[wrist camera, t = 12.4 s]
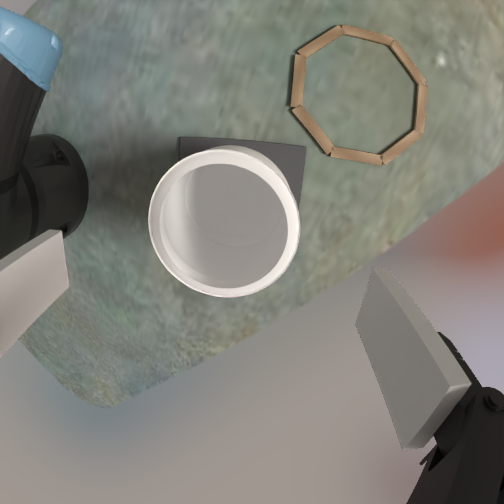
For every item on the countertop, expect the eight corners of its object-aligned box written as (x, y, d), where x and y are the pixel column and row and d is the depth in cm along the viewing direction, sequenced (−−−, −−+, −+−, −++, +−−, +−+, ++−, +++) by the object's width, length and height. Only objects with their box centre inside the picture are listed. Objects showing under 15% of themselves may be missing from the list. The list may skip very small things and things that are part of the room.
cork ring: (285, 150, 33) (286, 150, 32) (298, 18, 26) (298, 16, 26) (415, 172, 33) (417, 173, 32) (426, 50, 27) (428, 50, 26)
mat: (178, 228, 37) (177, 229, 36) (181, 136, 32) (180, 137, 32) (293, 239, 37) (294, 240, 36) (305, 146, 32) (306, 147, 32)
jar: (175, 175, 34) (119, 207, 20) (251, 124, 31) (243, 117, 17) (227, 248, 37) (207, 321, 23) (302, 203, 34) (329, 254, 21)
